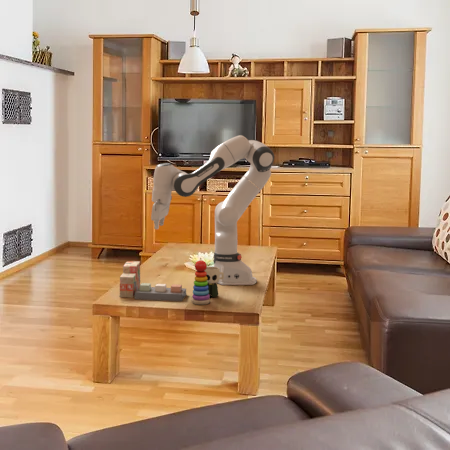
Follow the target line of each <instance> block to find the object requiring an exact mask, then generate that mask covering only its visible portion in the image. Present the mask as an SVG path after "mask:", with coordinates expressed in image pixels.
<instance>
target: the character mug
mask: <svg viewBox="0 0 450 450" xmlns="http://www.w3.org/2000/svg"><path fill="white" fill-rule="evenodd" d="M205 272H206V273H207V275H206V276H207V282H208V284H207V285H208V290H209V293H208V294H209V295H210V296H211V298H214V297H215V298H216V297H218V296H219V287H218V283H217V282H219V279H224V273H223V272H220V268H218V267H214V266H207V268H206V270H205ZM220 274H222V277H219V276H220Z"/></svg>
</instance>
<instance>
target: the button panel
mask: <svg viewBox="0 0 450 450" xmlns="http://www.w3.org/2000/svg"><path fill="white" fill-rule="evenodd" d="M186 296H187V288H185V287H184V288H183V287H182V292H181V293H176V292H171V287H166V292H155V286H153V287H152V286H151V290H150V291H140V288H139V289H138V290H137V291H136V292H135V295H134V300H148V301H149V300H150V301H168V302H169V301H173V302H183V300H184V299H185V298H186Z"/></svg>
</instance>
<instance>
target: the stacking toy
mask: <svg viewBox="0 0 450 450" xmlns="http://www.w3.org/2000/svg"><path fill="white" fill-rule="evenodd" d="M207 265H208V264H207V262H206V261H204V260H202V259H201V260H197V261H196V262H195V264H194V268H195V270H196V271H195V272H194V281H193V290H192V298H191V303H192V304H193V305H198V306H203V305H205V306H206V305H208V304H210V302H211V299H210V297H211V295H209V294H208V293H209V290H208V285H207V284H208V282H207V276H206V275H207V273H206V272H205V270H206V268H207V267H208V266H207Z"/></svg>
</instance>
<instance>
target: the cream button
mask: <svg viewBox="0 0 450 450" xmlns="http://www.w3.org/2000/svg"><path fill="white" fill-rule="evenodd" d="M154 287H155V292H166V288H167V283H156V284H155V286H154Z"/></svg>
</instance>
